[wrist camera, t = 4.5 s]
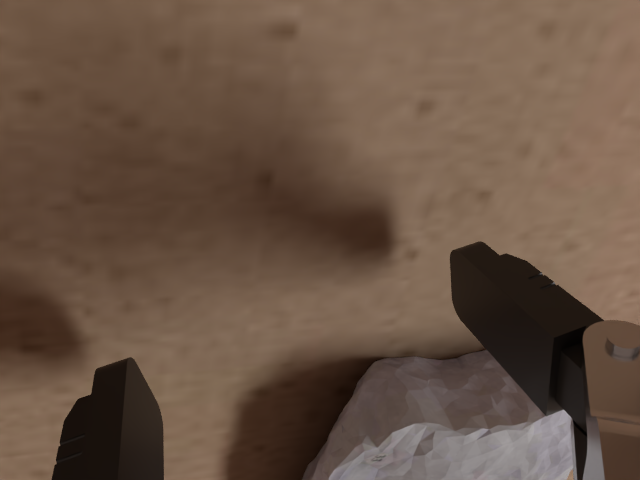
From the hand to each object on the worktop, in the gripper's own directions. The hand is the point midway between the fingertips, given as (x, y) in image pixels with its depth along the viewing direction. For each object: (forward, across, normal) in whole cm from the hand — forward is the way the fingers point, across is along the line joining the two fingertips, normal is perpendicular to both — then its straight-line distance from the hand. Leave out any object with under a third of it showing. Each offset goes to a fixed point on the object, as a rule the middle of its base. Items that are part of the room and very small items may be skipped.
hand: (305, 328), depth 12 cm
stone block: (+2, -2, +10) cm, 10 cm away
